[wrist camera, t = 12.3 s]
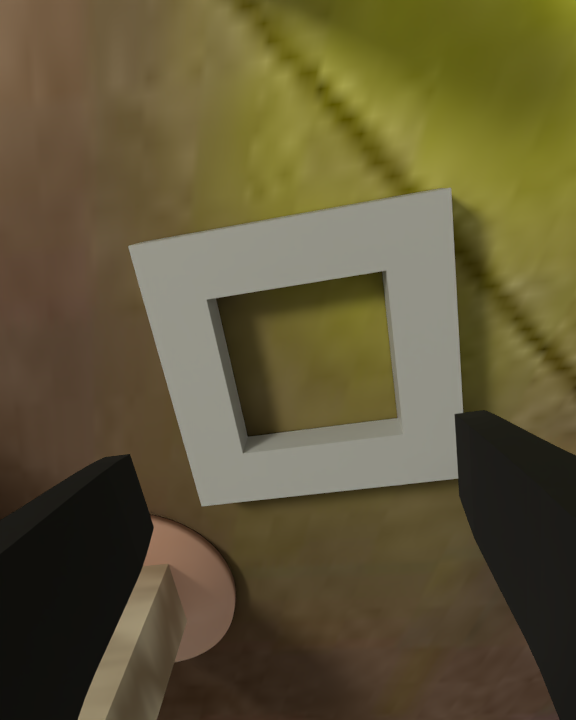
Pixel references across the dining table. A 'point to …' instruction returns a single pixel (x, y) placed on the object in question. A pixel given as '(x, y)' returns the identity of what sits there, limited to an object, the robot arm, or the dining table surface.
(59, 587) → the robot arm
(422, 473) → the grey square frame
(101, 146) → the dining table surface
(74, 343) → the dining table surface
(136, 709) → the maple block
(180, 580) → the pink disc
